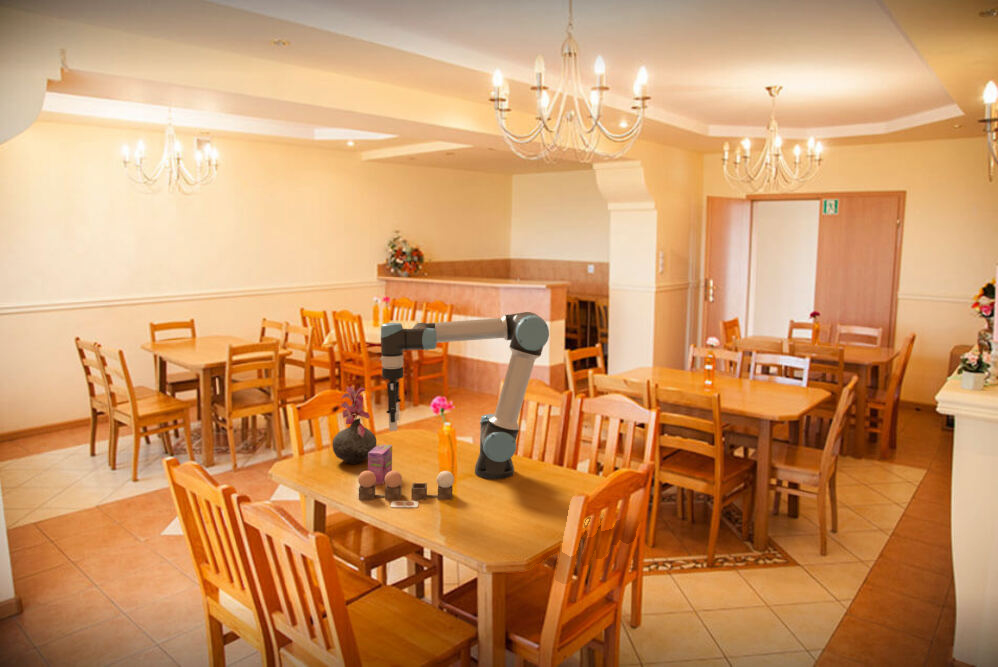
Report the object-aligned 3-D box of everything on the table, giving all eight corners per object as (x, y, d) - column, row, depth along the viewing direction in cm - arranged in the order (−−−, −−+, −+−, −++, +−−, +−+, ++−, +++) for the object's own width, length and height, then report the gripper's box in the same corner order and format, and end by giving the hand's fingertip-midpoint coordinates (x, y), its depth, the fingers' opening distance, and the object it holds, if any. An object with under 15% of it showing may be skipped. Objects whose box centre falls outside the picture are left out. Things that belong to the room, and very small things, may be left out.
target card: (418, 501, 224) (418, 500, 224) (417, 507, 219) (417, 506, 219) (391, 501, 223) (391, 500, 223) (390, 507, 219) (390, 506, 218)
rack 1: (401, 493, 231) (401, 483, 230) (399, 499, 226) (399, 488, 225) (360, 493, 230) (360, 482, 229) (358, 499, 225) (358, 488, 224)
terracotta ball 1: (376, 484, 230) (376, 468, 229) (374, 490, 224) (374, 474, 223) (359, 484, 230) (359, 468, 229) (357, 491, 224) (356, 474, 223)
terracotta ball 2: (402, 484, 231) (402, 468, 230) (401, 491, 225) (401, 474, 224) (385, 484, 230) (385, 468, 229) (383, 491, 224) (383, 474, 223)
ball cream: (453, 484, 232) (454, 468, 231) (453, 491, 226) (454, 474, 225) (436, 484, 231) (437, 468, 230) (436, 491, 225) (436, 474, 225)
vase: (356, 452, 274) (356, 381, 270) (386, 461, 264) (386, 388, 260) (324, 462, 261) (323, 388, 256) (354, 472, 251) (354, 395, 246)
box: (382, 484, 239) (382, 453, 237) (367, 483, 240) (367, 452, 238) (392, 475, 249) (392, 445, 247) (378, 473, 250) (378, 443, 248)
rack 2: (452, 494, 232) (452, 483, 231) (452, 499, 227) (452, 488, 226) (412, 494, 231) (412, 483, 230) (411, 499, 226) (411, 488, 225)
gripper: (384, 360, 243) (386, 416, 246) (378, 374, 218) (380, 435, 221) (405, 360, 244) (406, 415, 247) (401, 373, 219) (403, 435, 222)
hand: (394, 425), depth 234 cm, fingers open, 13 cm apart
